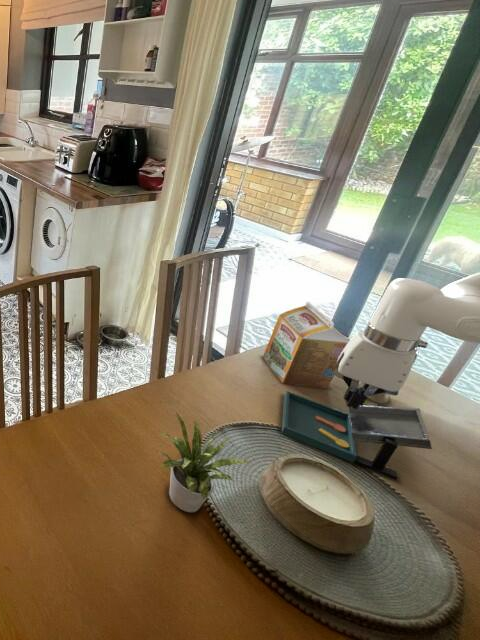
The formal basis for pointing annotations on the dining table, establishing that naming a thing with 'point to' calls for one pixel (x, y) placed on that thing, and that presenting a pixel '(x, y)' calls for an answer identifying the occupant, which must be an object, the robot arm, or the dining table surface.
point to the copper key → (332, 424)
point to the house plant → (194, 470)
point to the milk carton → (304, 347)
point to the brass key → (335, 439)
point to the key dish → (389, 426)
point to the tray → (317, 425)
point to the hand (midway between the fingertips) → (350, 403)
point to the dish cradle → (381, 458)
